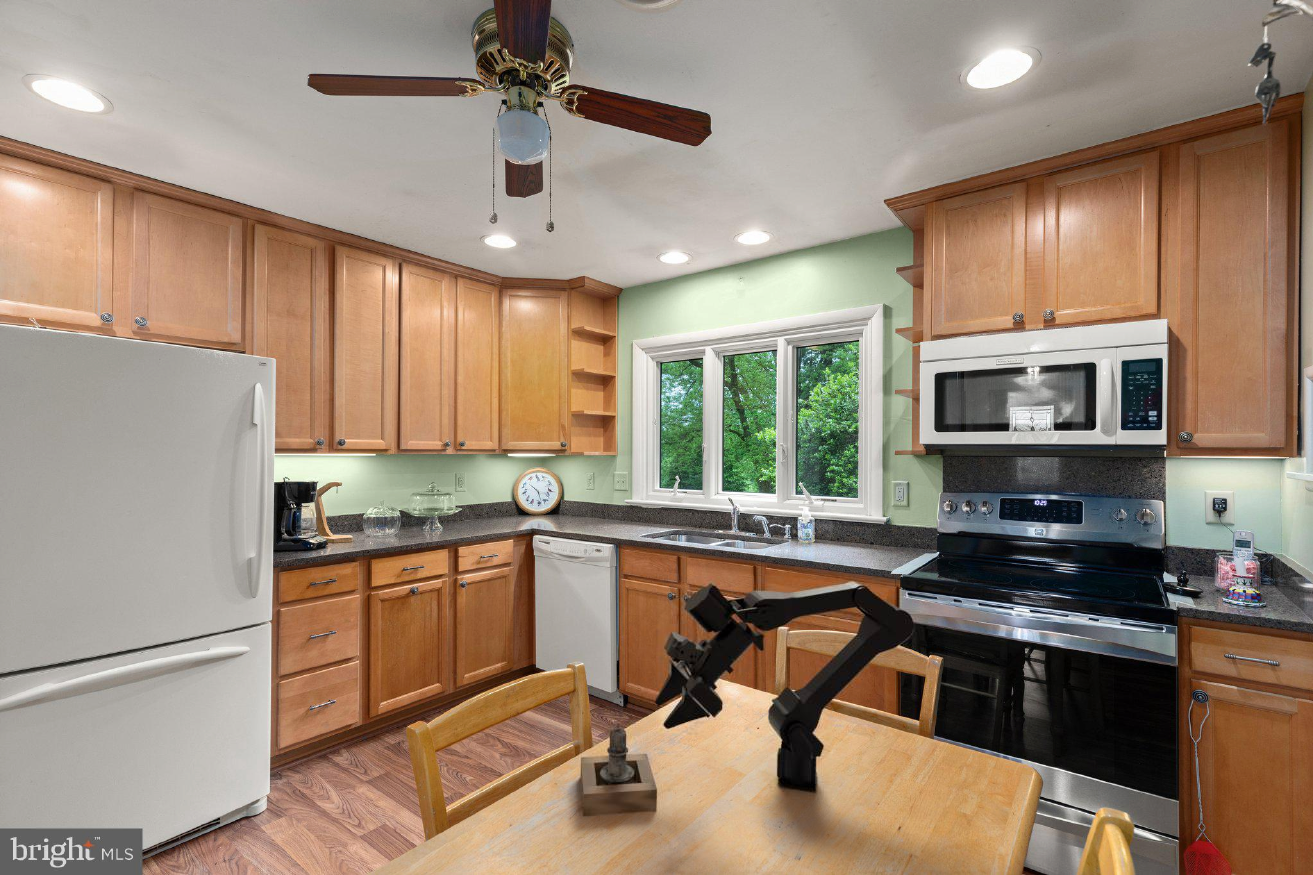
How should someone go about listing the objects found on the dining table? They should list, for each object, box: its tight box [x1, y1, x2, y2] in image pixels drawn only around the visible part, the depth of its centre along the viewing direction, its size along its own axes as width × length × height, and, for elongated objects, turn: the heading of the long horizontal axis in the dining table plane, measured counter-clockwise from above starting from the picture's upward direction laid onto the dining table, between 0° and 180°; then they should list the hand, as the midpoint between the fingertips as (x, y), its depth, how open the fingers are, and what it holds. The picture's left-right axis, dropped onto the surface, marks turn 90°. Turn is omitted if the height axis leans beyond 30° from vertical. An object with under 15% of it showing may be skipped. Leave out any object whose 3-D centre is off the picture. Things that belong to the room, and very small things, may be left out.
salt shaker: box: [600, 723, 634, 786], centre depth 109 cm, size 6×6×12 cm
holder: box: [580, 753, 658, 817], centre depth 108 cm, size 12×12×4 cm
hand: (660, 714), depth 110 cm, fingers open, 9 cm apart
